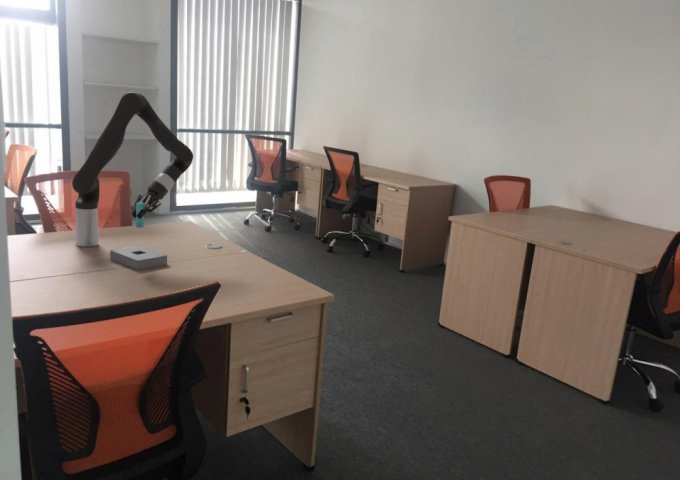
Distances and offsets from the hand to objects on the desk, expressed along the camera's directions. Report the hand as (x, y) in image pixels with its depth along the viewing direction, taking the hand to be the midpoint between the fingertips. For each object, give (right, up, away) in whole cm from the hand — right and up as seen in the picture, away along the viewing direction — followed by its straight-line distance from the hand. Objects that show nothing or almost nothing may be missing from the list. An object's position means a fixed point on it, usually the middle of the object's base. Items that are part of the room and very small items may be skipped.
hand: (135, 216), depth 243 cm
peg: (+1, -4, +3) cm, 5 cm away
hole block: (-1, -19, +6) cm, 20 cm away
